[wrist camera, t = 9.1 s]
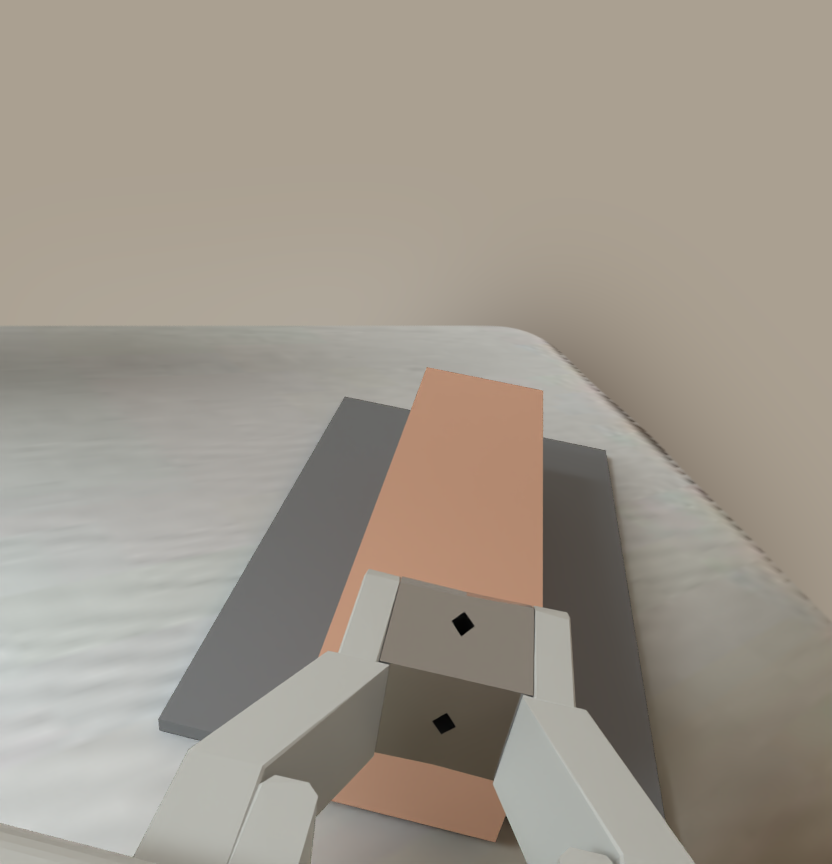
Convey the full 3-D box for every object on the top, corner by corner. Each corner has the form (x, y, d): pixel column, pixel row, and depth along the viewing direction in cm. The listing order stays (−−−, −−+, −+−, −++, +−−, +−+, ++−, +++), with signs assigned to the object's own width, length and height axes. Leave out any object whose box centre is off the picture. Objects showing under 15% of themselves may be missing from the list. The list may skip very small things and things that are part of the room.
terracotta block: (542, 718, 14) (542, 390, 28) (316, 663, 14) (426, 367, 28) (495, 842, 17) (517, 486, 30) (303, 793, 17) (411, 463, 31)
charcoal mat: (662, 855, 17) (669, 845, 17) (159, 730, 18) (158, 719, 18) (602, 458, 34) (605, 450, 34) (344, 404, 35) (345, 396, 35)
